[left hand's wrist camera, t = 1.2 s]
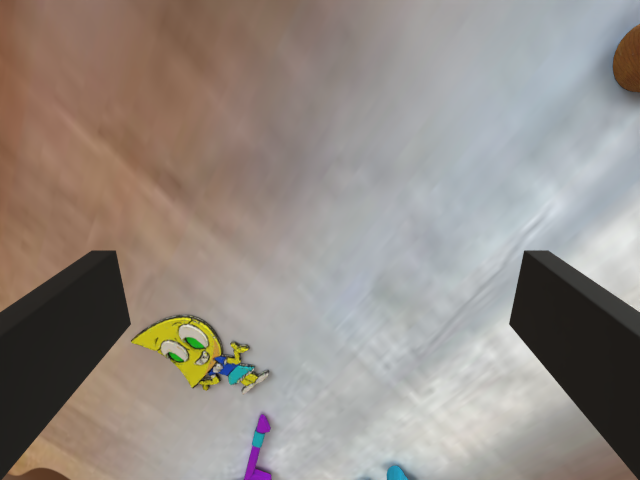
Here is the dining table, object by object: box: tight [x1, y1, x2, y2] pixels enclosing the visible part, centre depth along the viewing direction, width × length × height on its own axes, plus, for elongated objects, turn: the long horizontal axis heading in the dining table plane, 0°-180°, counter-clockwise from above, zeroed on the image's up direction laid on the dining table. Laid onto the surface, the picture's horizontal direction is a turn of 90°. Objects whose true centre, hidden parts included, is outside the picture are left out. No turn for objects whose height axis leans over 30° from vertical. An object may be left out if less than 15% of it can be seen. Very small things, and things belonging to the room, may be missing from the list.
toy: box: [131, 315, 269, 394], centre depth 47 cm, size 10×1×15 cm
